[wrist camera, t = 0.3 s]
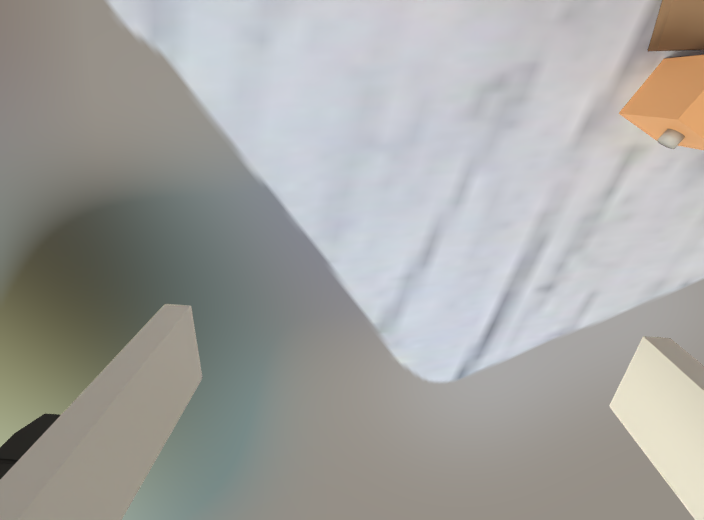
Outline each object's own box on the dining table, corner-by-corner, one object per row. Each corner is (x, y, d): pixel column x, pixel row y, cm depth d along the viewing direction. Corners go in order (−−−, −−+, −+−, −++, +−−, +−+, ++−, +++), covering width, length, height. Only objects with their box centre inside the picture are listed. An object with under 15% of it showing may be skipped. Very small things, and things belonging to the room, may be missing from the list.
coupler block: (673, 46, 31) (752, 36, 24) (714, 79, 32) (800, 77, 25) (610, 123, 34) (666, 131, 27) (649, 151, 34) (712, 165, 28)
